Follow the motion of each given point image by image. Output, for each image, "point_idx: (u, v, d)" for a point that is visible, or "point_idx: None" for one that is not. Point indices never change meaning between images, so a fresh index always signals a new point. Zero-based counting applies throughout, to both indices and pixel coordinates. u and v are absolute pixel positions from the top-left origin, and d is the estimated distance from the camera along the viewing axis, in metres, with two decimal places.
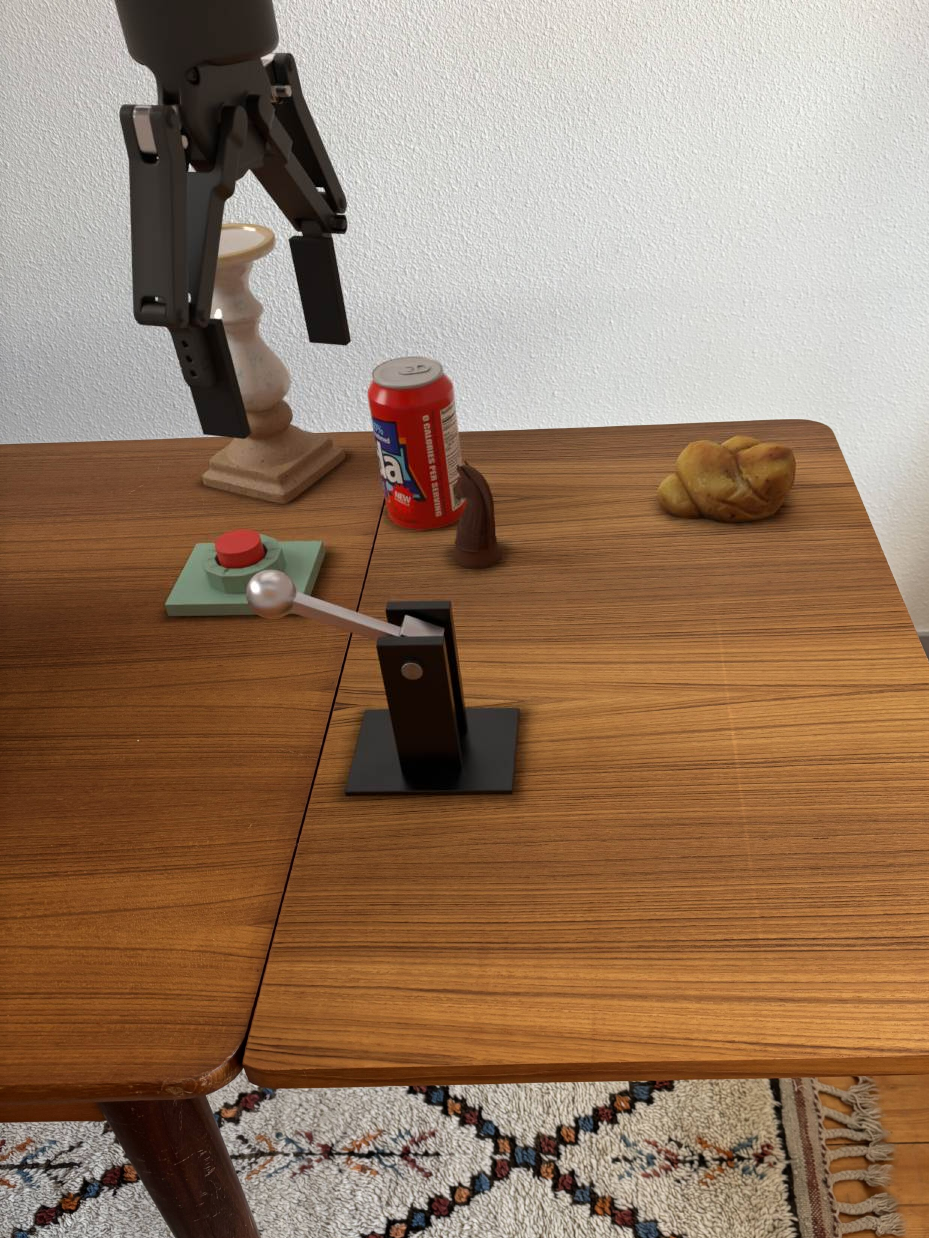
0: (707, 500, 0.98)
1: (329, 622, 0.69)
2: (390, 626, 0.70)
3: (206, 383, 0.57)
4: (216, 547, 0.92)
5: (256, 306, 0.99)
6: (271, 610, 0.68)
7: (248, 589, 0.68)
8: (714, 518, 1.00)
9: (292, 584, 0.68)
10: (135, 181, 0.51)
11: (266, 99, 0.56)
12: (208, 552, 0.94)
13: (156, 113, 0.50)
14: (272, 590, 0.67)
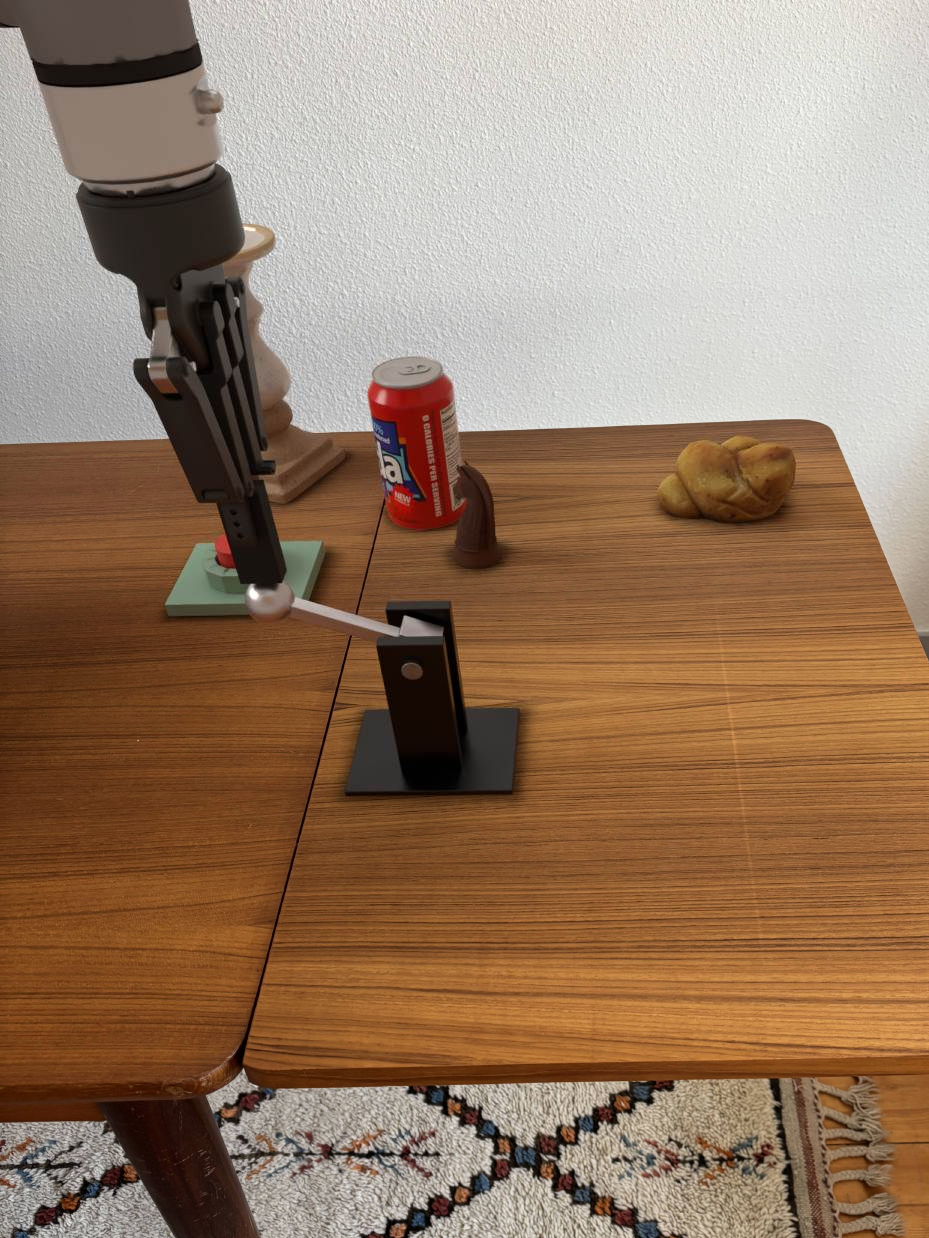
0: (707, 500, 0.98)
1: (328, 626, 0.70)
2: (389, 627, 0.70)
3: (252, 542, 0.64)
4: (216, 547, 0.92)
5: (256, 306, 0.99)
6: (270, 616, 0.68)
7: (246, 596, 0.68)
8: (714, 518, 1.00)
9: (290, 589, 0.69)
10: (165, 415, 0.55)
11: (230, 287, 0.57)
12: (208, 552, 0.94)
13: (174, 375, 0.52)
14: (270, 596, 0.67)
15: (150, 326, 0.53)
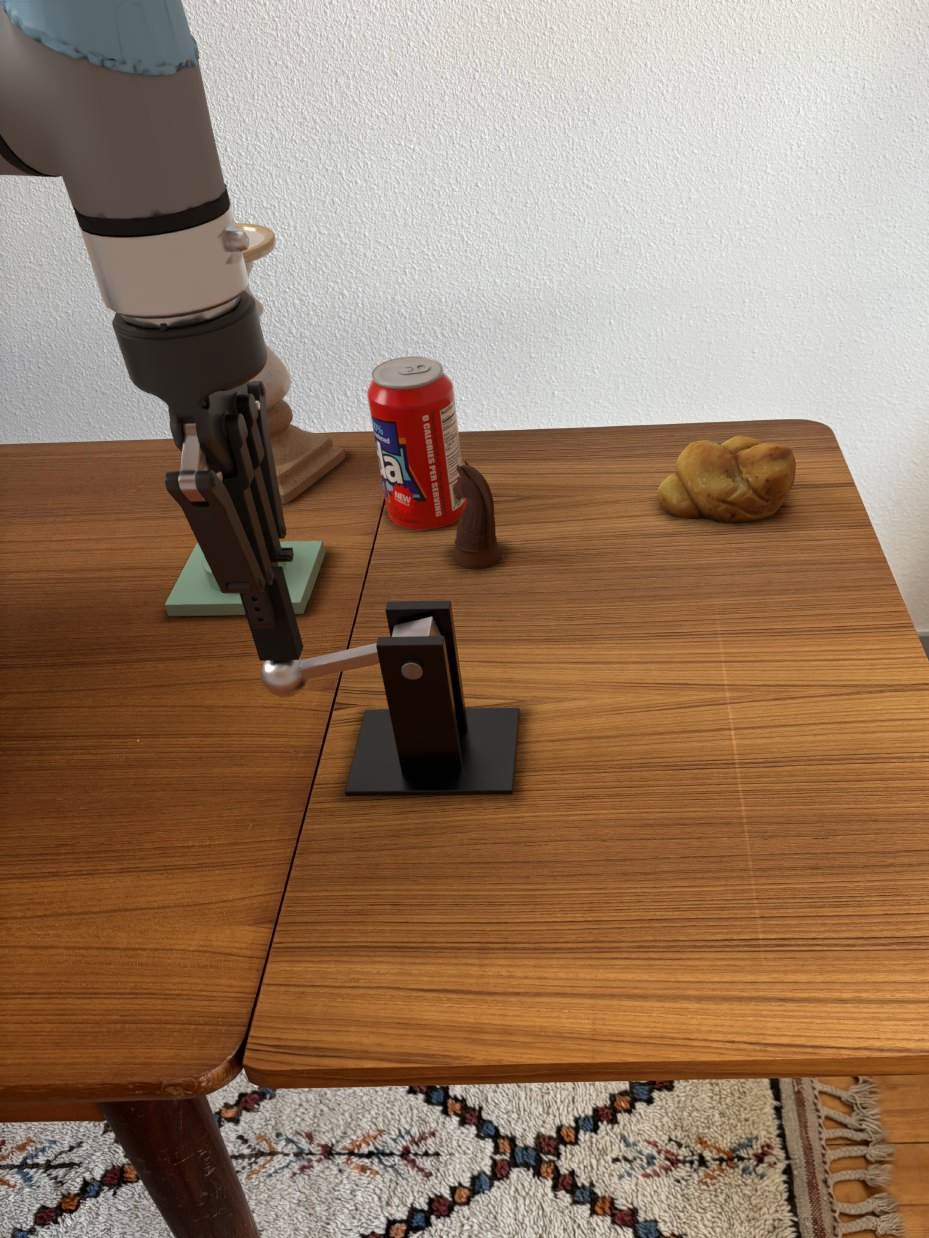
0: (707, 500, 0.98)
1: (337, 669, 0.72)
2: None
3: (272, 625, 0.68)
4: None
5: (256, 306, 0.99)
6: (284, 687, 0.72)
7: (262, 681, 0.73)
8: (714, 518, 1.00)
9: None
10: (193, 519, 0.59)
11: (252, 397, 0.61)
12: None
13: (203, 487, 0.56)
14: (274, 671, 0.72)
15: (180, 441, 0.57)
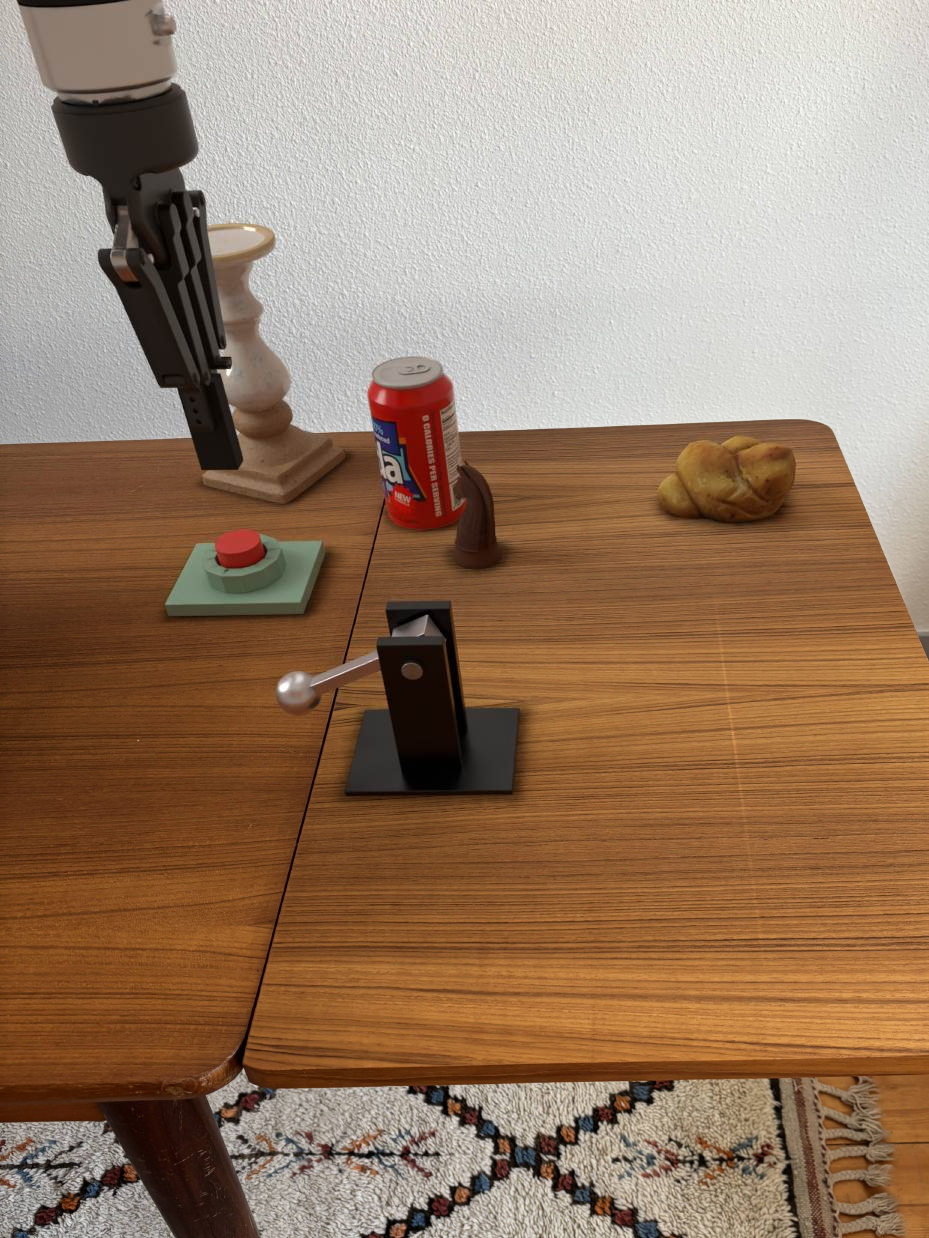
0: (707, 500, 0.98)
1: (346, 681, 0.73)
2: None
3: (210, 428, 0.72)
4: (216, 547, 0.92)
5: (256, 306, 0.99)
6: (298, 706, 0.73)
7: (278, 703, 0.74)
8: (714, 518, 1.00)
9: (302, 674, 0.73)
10: (127, 302, 0.63)
11: (187, 194, 0.65)
12: (208, 552, 0.94)
13: (132, 263, 0.61)
14: (286, 691, 0.73)
15: (113, 221, 0.61)
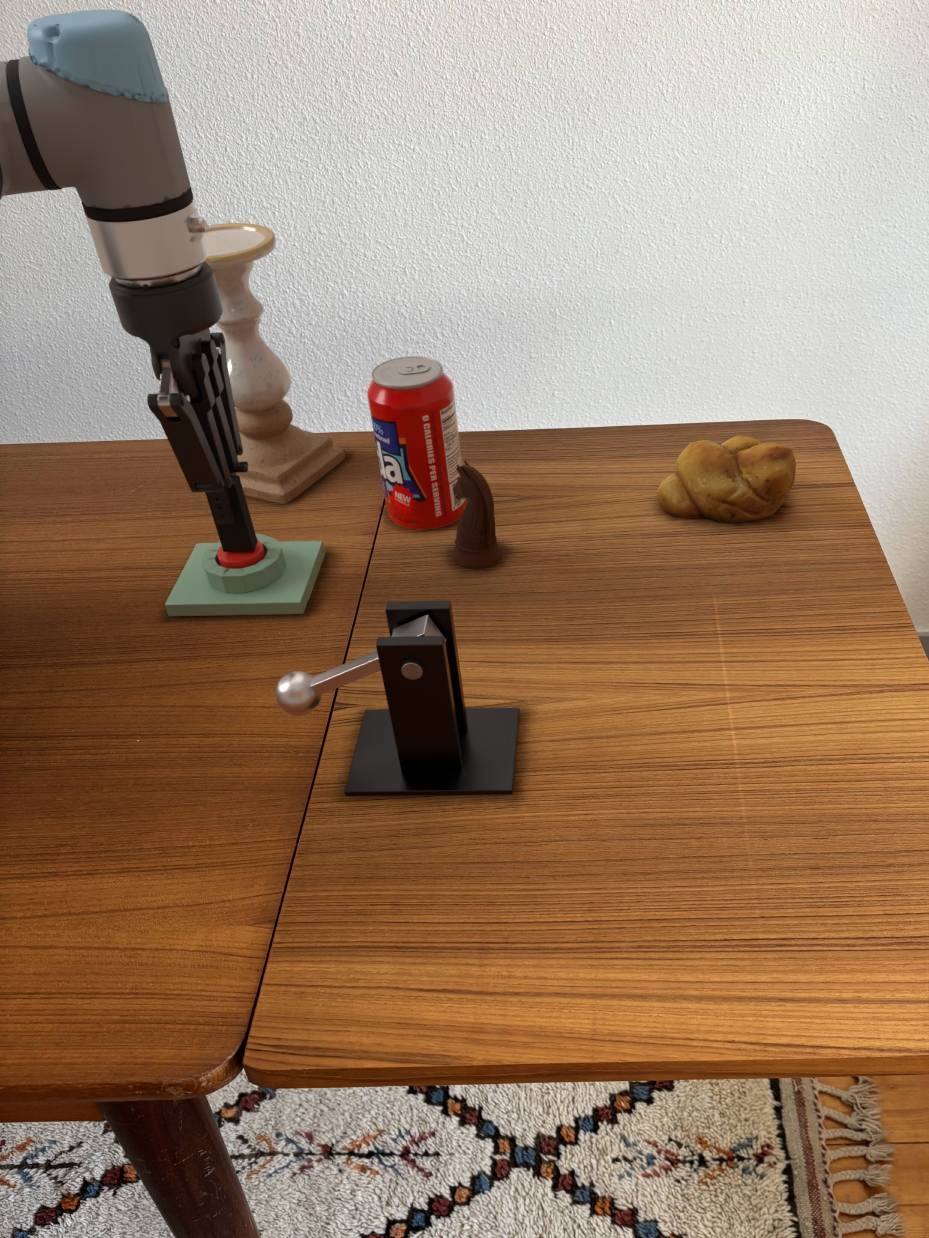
0: (707, 500, 0.98)
1: (346, 681, 0.73)
2: None
3: (231, 520, 0.89)
4: (219, 555, 0.93)
5: (256, 306, 0.99)
6: (298, 706, 0.73)
7: (278, 703, 0.74)
8: (714, 518, 1.00)
9: (302, 674, 0.73)
10: (168, 431, 0.80)
11: (213, 342, 0.82)
12: (208, 552, 0.94)
13: (175, 405, 0.77)
14: (286, 691, 0.73)
15: (158, 372, 0.78)
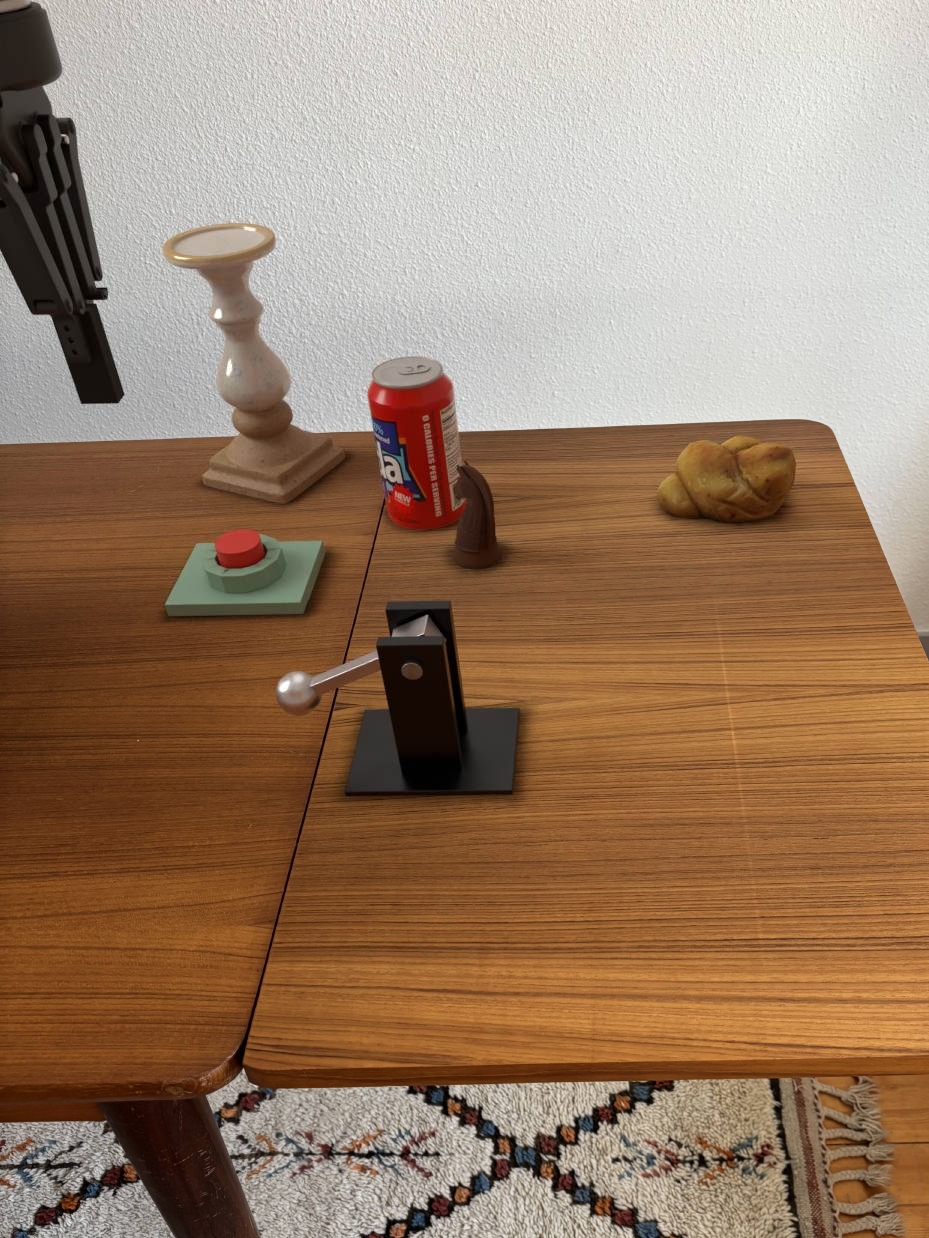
0: (707, 500, 0.98)
1: (346, 681, 0.73)
2: None
3: (86, 359, 0.72)
4: (216, 547, 0.92)
5: (256, 306, 0.99)
6: (298, 706, 0.73)
7: (278, 703, 0.74)
8: (714, 518, 1.00)
9: (302, 674, 0.73)
10: None
11: (54, 118, 0.65)
12: (208, 552, 0.94)
13: None
14: (286, 691, 0.73)
15: None
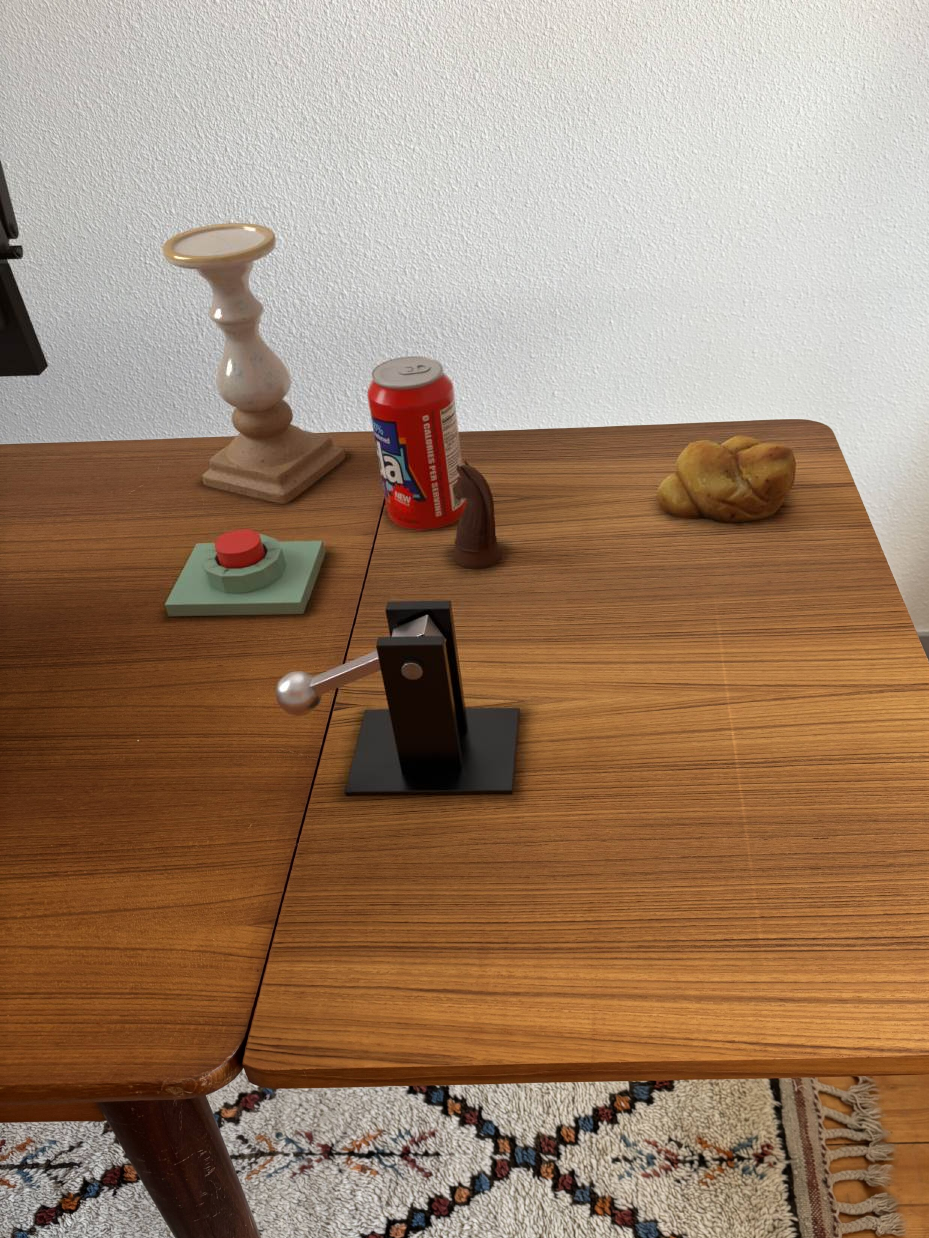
0: (707, 500, 0.98)
1: (346, 681, 0.73)
2: None
3: None
4: (216, 547, 0.92)
5: (256, 306, 0.99)
6: (298, 706, 0.73)
7: (278, 703, 0.74)
8: (714, 518, 1.00)
9: (302, 674, 0.73)
10: None
11: None
12: (208, 552, 0.94)
13: None
14: (286, 691, 0.73)
15: None
